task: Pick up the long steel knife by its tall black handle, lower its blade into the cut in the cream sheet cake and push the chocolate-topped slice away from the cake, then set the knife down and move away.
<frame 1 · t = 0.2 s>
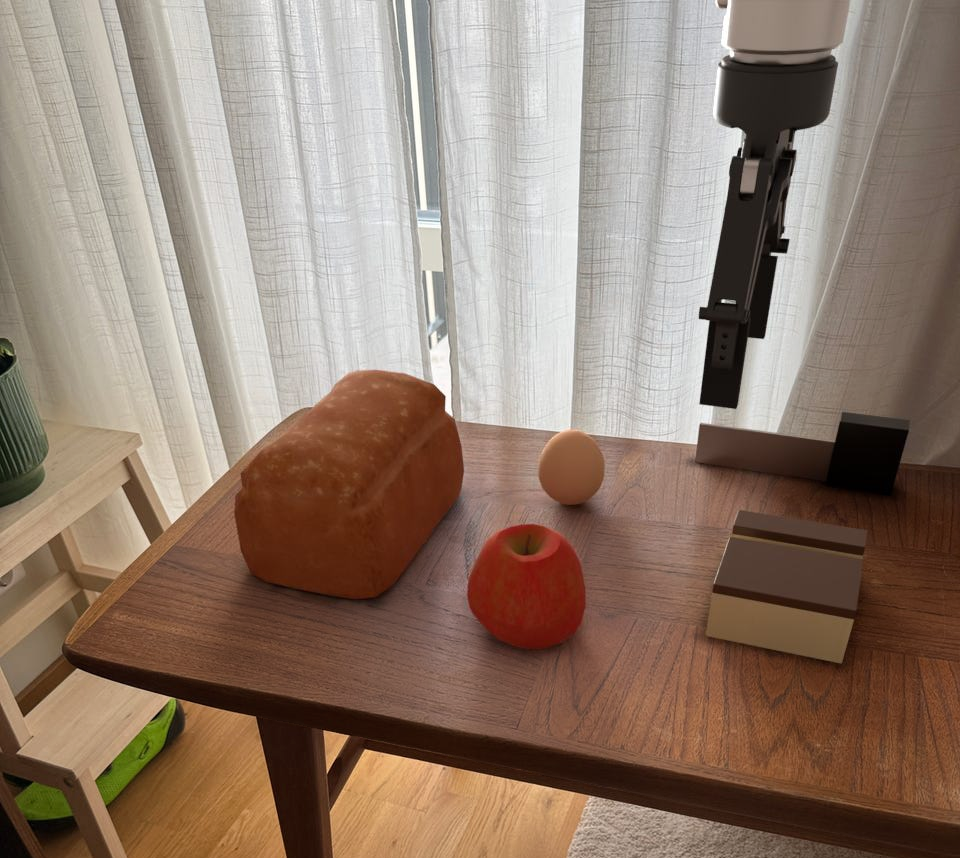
hand: (734, 368, 73), 24 cm above the table, tool pointing down, fingers open, 13 cm apart
bread: (361, 532, 101), on the table
cake: (778, 623, 86), on the table
cake slice: (788, 578, 91), on the table
apple: (528, 628, 87), on the table
egg: (570, 502, 104), on the table
knife: (858, 485, 104), on the table
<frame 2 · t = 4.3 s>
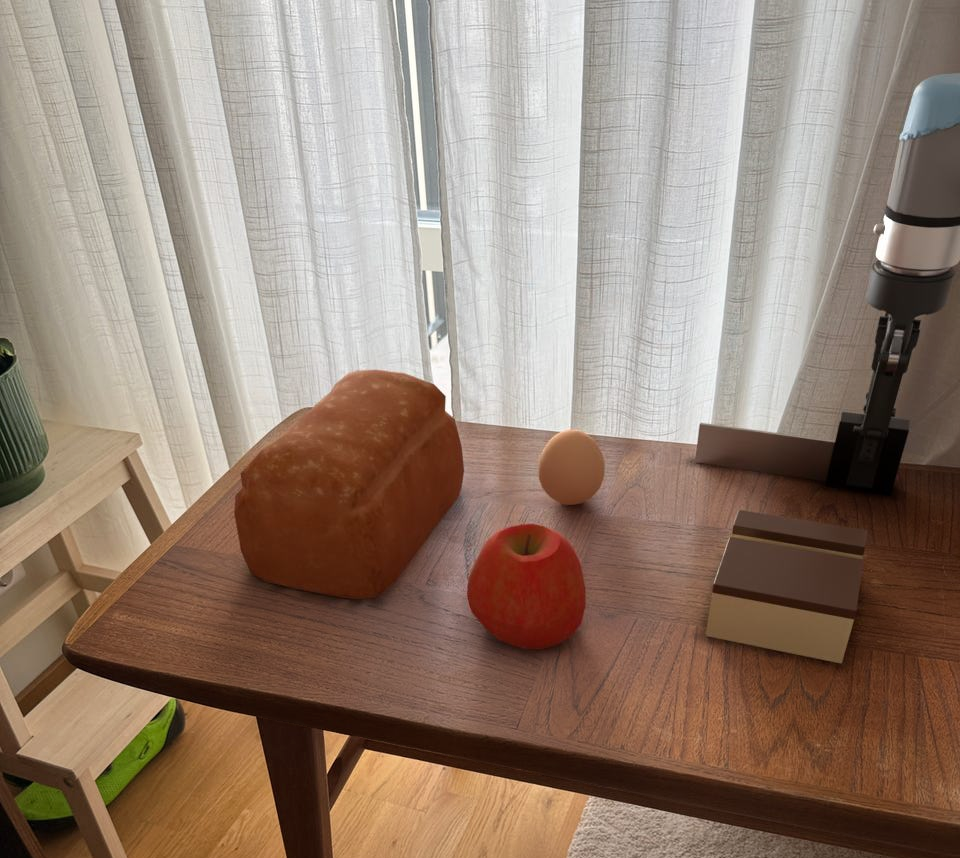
hand: (860, 477, 103), 1 cm above the table, tool pointing down, fingers closed on knife, 2 cm apart
knife: (858, 485, 104), on the table, touching gripper
everything else where it was.
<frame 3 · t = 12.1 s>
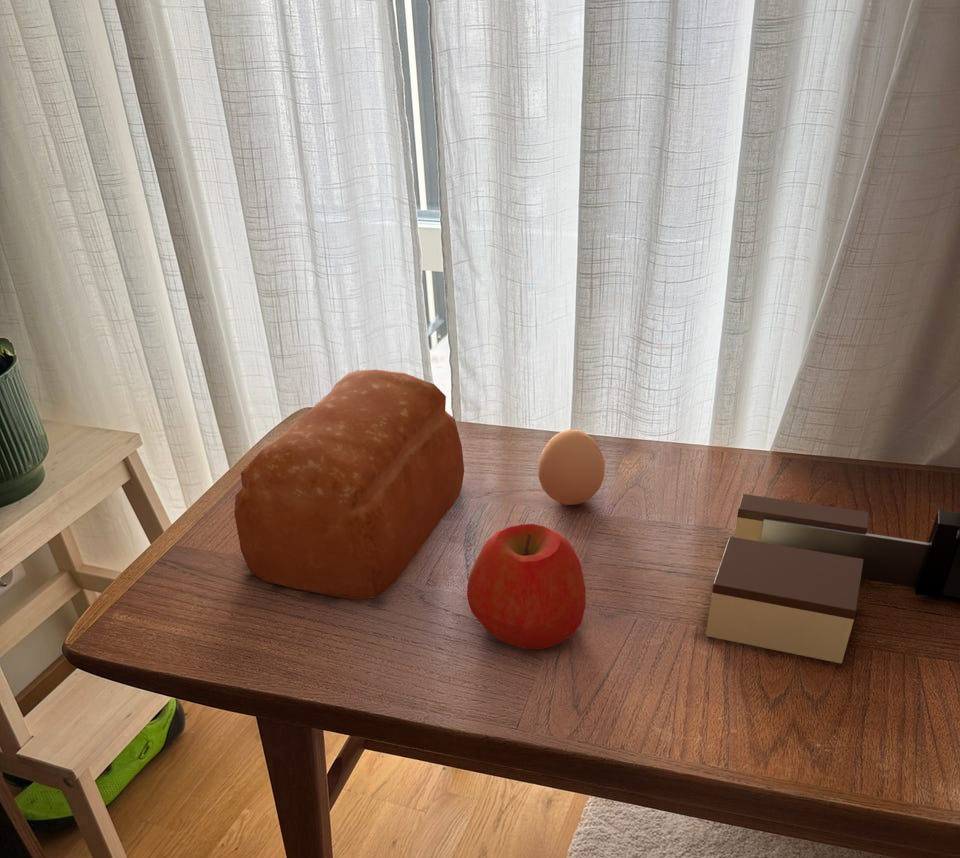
hand: (958, 585, 87), 1 cm above the table, tool pointing down, fingers closed on knife, 2 cm apart
cake slice: (792, 560, 93), on the table, touching knife
knife: (954, 593, 87), on the table, touching cake slice, gripper
everything else where it was.
when the fingers open (1 cm above the table, at t = 13.2 s): knife stays where it is, on the table.
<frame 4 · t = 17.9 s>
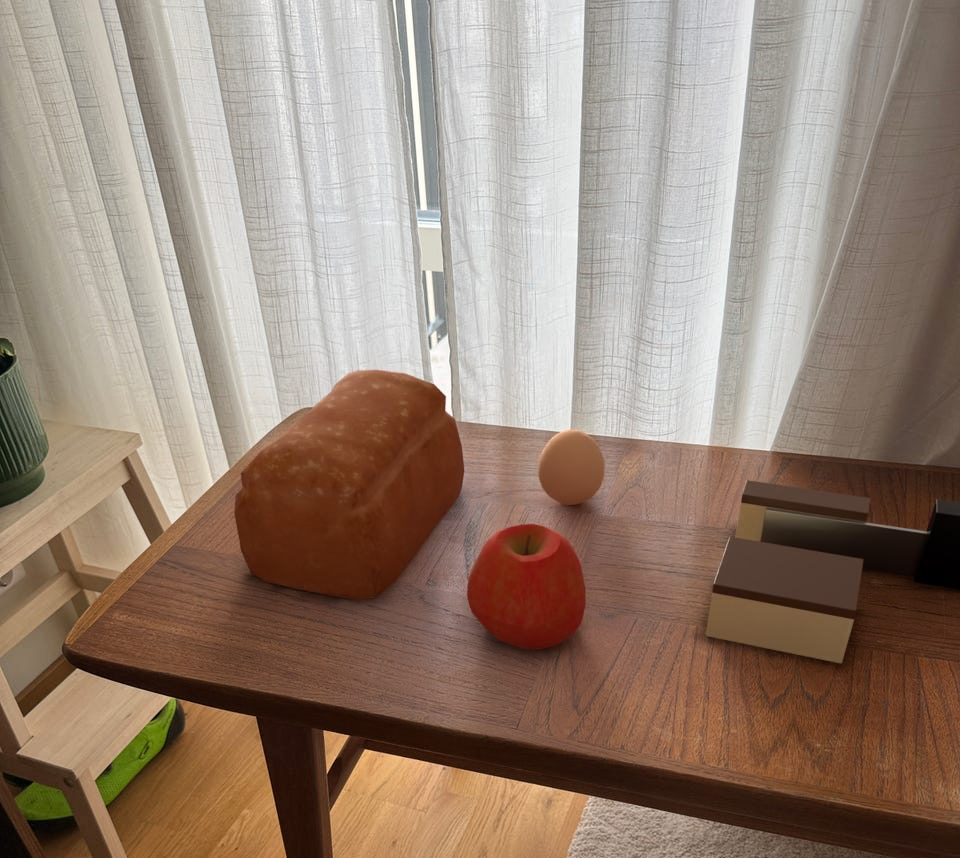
cake slice: (795, 546, 95), on the table
knife: (952, 581, 90), on the table
everything else where it was.
at the end: cake slice moved 6.0 cm from its start; cake slice touching table; the gripper is holding nothing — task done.
